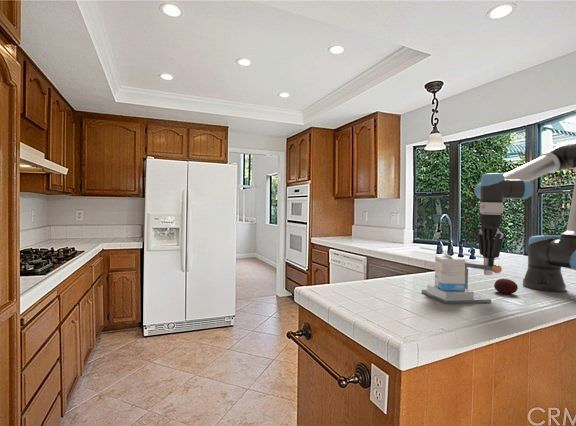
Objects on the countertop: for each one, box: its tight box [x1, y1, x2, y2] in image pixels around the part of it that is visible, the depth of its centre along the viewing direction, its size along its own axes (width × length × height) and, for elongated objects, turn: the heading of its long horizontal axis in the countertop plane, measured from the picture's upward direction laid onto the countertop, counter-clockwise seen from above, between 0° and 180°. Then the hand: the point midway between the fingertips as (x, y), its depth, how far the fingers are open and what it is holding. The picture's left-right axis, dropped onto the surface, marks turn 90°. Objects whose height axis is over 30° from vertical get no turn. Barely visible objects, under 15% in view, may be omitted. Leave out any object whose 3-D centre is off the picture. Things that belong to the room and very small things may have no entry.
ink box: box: [434, 251, 466, 291], centre depth 126 cm, size 9×8×13 cm
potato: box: [493, 278, 519, 295], centre depth 136 cm, size 7×8×6 cm
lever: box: [465, 261, 503, 274], centre depth 129 cm, size 16×4×3 cm, turn 38°
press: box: [421, 267, 492, 305], centre depth 128 cm, size 18×16×10 cm
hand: (488, 274), depth 129 cm, fingers closed
